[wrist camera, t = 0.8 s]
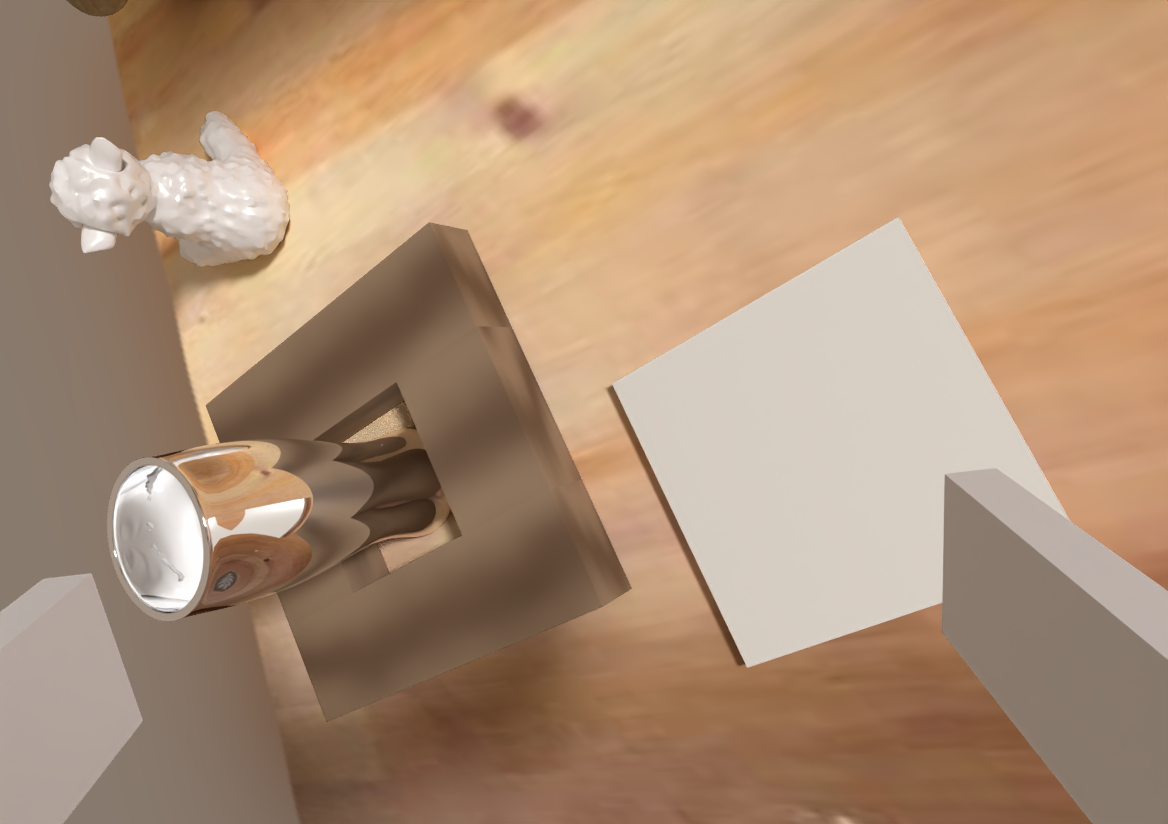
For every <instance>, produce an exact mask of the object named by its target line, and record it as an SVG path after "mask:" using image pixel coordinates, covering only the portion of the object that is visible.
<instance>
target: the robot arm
mask: <svg viewBox="0 0 1168 824" xmlns="http://www.w3.org/2000/svg"><path fill="white" fill-rule="evenodd" d="M942 633H943V634H944V636H945V637H946V638H947V640H948V641H949V642H950V643H951V645H952V646H953V647H954V648H955V650H956V651H957V652H958V654H959V655H960V656H961V657H962V659H963V660H964V661H965V662H966V664H967V665H968V666H969V668H970V669H971V670H972V671H973V673H974V674H975V675H976V676H977V678H978V679H979V680H980V681H981V683H982V684H983V685H984V687H985V688H986V689H987V690H988V692H989V693H990V694H991V695H992V697H993V698H994V699H995V701H996V702H997V703H998V704H999V706H1000V707H1001V708H1002V709H1003V711H1004V712H1005V713H1006V715H1007V716H1008V717H1009V718H1010V720H1011V721H1012V722H1013V723H1014V725H1015V726H1016V727H1017V729H1018V730H1019V731H1020V732H1021V734H1022V735H1023V736H1024V737H1025V739H1026V740H1027V741H1028V742H1029V744H1030V745H1031V746H1032V748H1033V749H1034V750H1035V751H1036V753H1037V754H1038V755H1039V756H1040V758H1041V759H1042V760H1043V762H1044V763H1045V764H1046V765H1047V767H1048V768H1049V769H1050V770H1051V772H1052V773H1053V774H1054V776H1055V777H1056V778H1057V779H1058V781H1059V782H1060V783H1061V784H1062V786H1063V787H1064V788H1065V789H1066V791H1067V792H1068V793H1069V795H1070V796H1071V797H1072V798H1073V800H1074V801H1075V802H1076V803H1077V805H1078V806H1079V807H1080V809H1081V810H1082V811H1083V812H1084V814H1085V815H1086V816H1087V817H1088V819H1089V820H1090V821H1091V823H1092V824H1168V591H1167V590H1165V589H1164V588H1163V587H1161V586H1160V585H1158V584H1157V583H1156V582H1154V581H1153V580H1152V579H1150V578H1149V577H1147V576H1146V575H1145V574H1143V573H1142V572H1140V571H1139V570H1138V569H1136V568H1135V567H1133V566H1132V565H1131V564H1129V563H1128V562H1126V561H1125V560H1124V559H1122V558H1121V557H1119V556H1118V555H1117V554H1115V553H1114V552H1112V551H1111V550H1110V549H1108V548H1107V547H1105V546H1104V545H1103V544H1101V543H1100V542H1098V541H1097V540H1096V539H1094V538H1093V537H1092V536H1090V535H1089V534H1087V533H1086V532H1085V531H1083V530H1082V529H1080V528H1079V527H1078V526H1076V525H1075V524H1073V523H1072V522H1071V521H1069V520H1068V519H1066V518H1065V517H1064V516H1062V515H1061V514H1059V513H1058V512H1057V511H1055V510H1054V509H1052V508H1051V507H1050V506H1048V505H1047V504H1045V503H1044V502H1043V501H1041V500H1040V499H1038V498H1037V497H1036V496H1034V495H1033V494H1032V493H1030V492H1029V491H1027V490H1026V489H1025V488H1023V487H1022V486H1020V485H1019V484H1018V483H1016V482H1015V481H1013V480H1012V479H1011V478H1009V477H1008V476H1006V475H1005V474H1004V473H1002V472H1001V471H999V470H998V469H997V468H992V469H983V470H975V471H966V472H957V473H949V474H945V482H944V539H943V595H942ZM142 722H143V719H142V716H141V713H140V710H139V708H138V705H137V702H136V699H135V696H134V693H133V690H132V688H131V685H130V682H129V679H128V676H127V673H126V670H125V667H124V665H123V662H122V659H121V656H120V653H119V650H118V648H117V645H116V642H115V639H114V636H113V633H112V630H111V627H110V625H109V622H108V619H107V616H106V613H105V610H104V608H103V604H102V602H101V599H100V596H99V593H98V591H97V587H96V585H95V581H94V579H93V576H92V574H91V573H88V574H79V575H71V576H62V577H53V578H45V579H42V580H41V581H40V582H38V583H37V584H36V585H35V586H33V587H32V588H31V589H29V590H28V591H27V592H25V593H24V594H23V595H22V596H20V597H19V598H18V599H16V600H15V601H14V602H13V603H11V604H10V605H9V606H7V607H6V608H5V609H4V610H2V611H1V612H0V824H63V823H64V822H65V821H66V819H67V818H68V817H69V815H70V814H71V813H72V812H73V810H74V809H75V808H76V807H77V805H78V804H79V803H80V801H81V800H82V799H83V797H84V796H85V795H86V794H87V792H88V791H89V790H90V789H91V787H92V786H93V785H94V783H95V782H96V781H97V779H98V778H99V777H100V776H101V774H102V773H103V772H104V771H105V769H106V768H107V766H108V765H109V764H110V763H111V761H112V760H113V759H114V758H115V756H116V755H117V754H118V753H119V751H120V750H121V749H122V747H123V746H124V745H125V744H126V742H127V741H128V740H129V738H130V737H131V736H132V735H133V733H134V732H135V731H136V729H137V728H138V727H139V726H140V724H141V723H142Z"/></svg>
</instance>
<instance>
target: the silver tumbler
mask: <svg viewBox="0 0 1168 824" xmlns="http://www.w3.org/2000/svg"><path fill="white" fill-rule="evenodd" d="M450 511H451V508H450V506H449V504H448V501H447V499H446V496H445V494H444V492H443V489H442V487H441V485H440V482H439V480H438V478H437V475H436V473H435V471H434V468H433V466H432V464H431V461H430V459H429V457H428V454H427V452H426V450H425V447H424V445H423V443H422V440H421V438H420V436H419V433H418V431H417V430H416V429H410V428H405V429H399V430H395V431H392V432H389V433H387V434H384V435H382V436H379V437H377V438H374V439H372V440H369V441H365V442H360V443H338V442H326V441H314V440H301V439H277V438H261V439H249V440H237V441H230V442H223V443H217V444H210V445H205V446H200V447H195V448H190V449H185V450H180V451H176V452H172V453H167V454H163V455H157V456H152V457H142V458H139V459H136V460H134V461H133V462H131V463H130V464H128V465H127V466H126V467H125V468H124V469H123V471H122V472H121V473H120V475H119V476H118V478H117V480H116V481H115V484H114V486H113V489H112V492H111V495H110V499H109V505H108V511H107V536H108V544H109V550H110V554H111V559H112V562H113V565H114V568H115V571H116V574H117V576H118V578H119V581H120V582H121V585H122V586H123V588H124V590H125V592H126V593H127V595H128V596H129V598H130V599H131V600H132V601H133V603H134V604H135V605H136V606H137V607H138V608H139V609H140V610H141V611H143V612H144V613H145V614H147V615H148V616H150V617H152V618H154V619H157V620H160V621H166V622H167V621H168V622H171V621H177V620H180V619H182V618H184V617H188V616H193V615H196V614H201V613H205V612H210V611H215V610H219V609H223V608H227V607H231V606H235V605H239V604H243V603H246V602H250V601H253V600H257V599H260V598H263V597H267V596H270V595H272V594H275V593H278V592H280V591H283V590H286V589H288V588H291V587H294V586H296V585H298V584H300V583H302V582H304V581H306V580H308V579H310V578H312V577H314V576H316V575H318V574H320V573H322V572H324V571H325V570H327V569H329V568H331V567H333V566H334V565H336V564H338V563H340V562H341V561H343V560H345V559H347V558H348V557H350V556H352V555H353V554H355V553H357V552H359V551H361V550H362V549H364V548H366V547H368V546H370V545H372V544H375V543H377V542H380V541H383V540H387V539H391V538H403V537H420V536H425V535H428V534H430V533H432V532H434V531H435V530H437V529H438V528H439V527H440V526H441V525H442V524H443V523H444V522H445V520H446V519H447V517H448V515H449V513H450Z"/></svg>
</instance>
